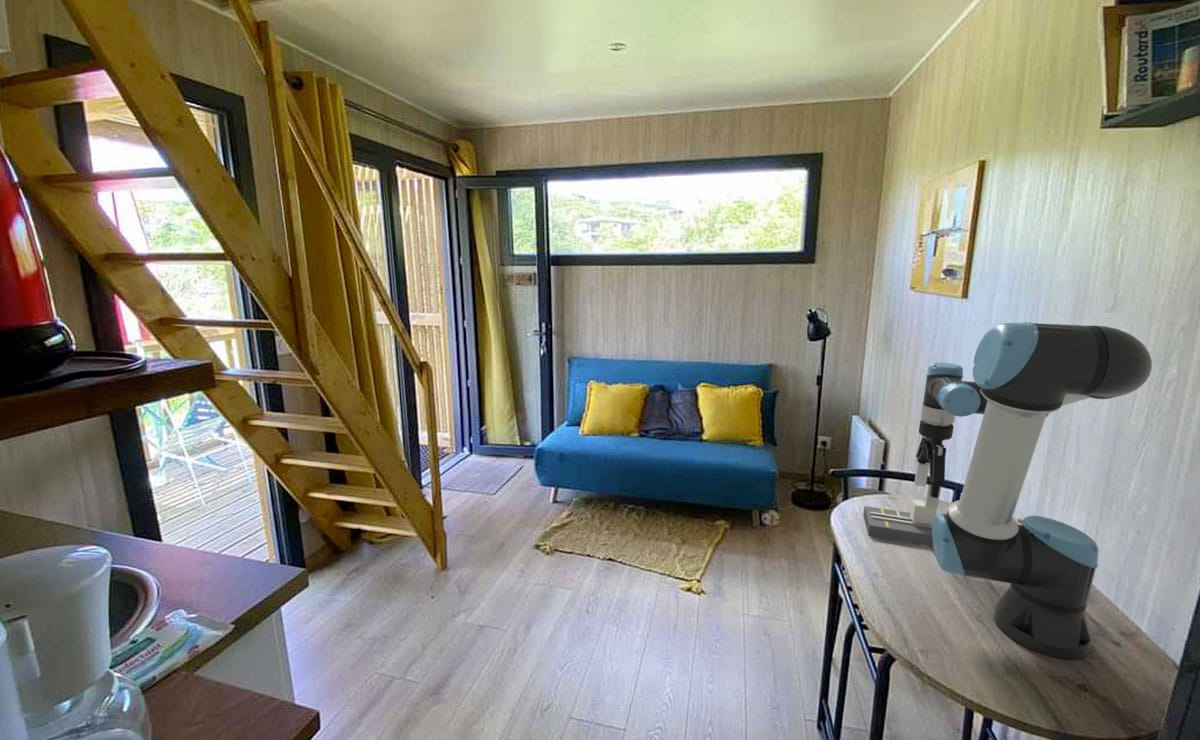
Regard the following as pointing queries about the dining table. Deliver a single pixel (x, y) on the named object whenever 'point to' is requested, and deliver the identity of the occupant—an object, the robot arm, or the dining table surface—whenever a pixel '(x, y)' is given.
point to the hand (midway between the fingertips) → (925, 496)
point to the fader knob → (922, 512)
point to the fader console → (896, 526)
